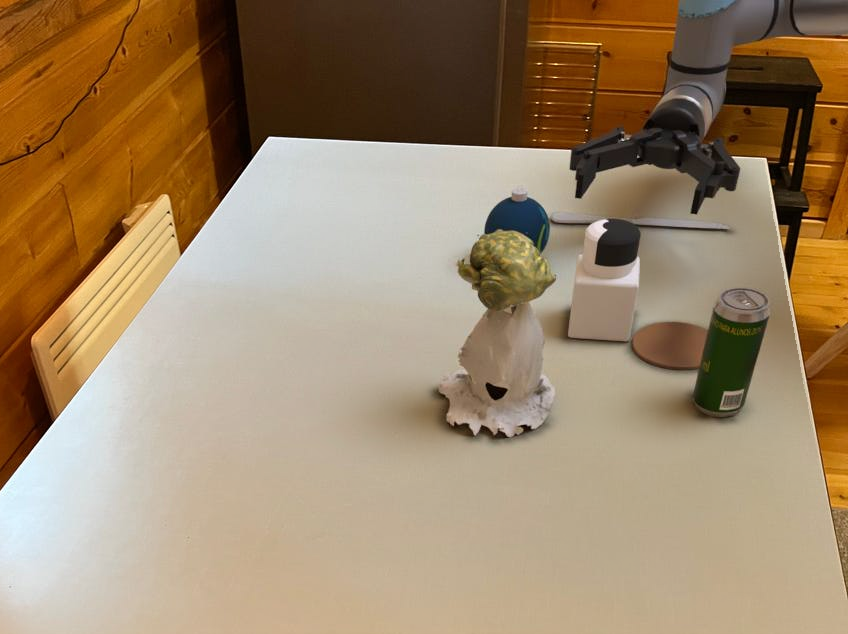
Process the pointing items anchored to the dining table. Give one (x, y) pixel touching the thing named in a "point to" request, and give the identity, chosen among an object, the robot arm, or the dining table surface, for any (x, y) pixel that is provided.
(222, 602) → the dining table surface
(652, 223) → the butter knife
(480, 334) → the white and green statuette
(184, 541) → the dining table surface
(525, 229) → the christmas ornament
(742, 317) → the green drink can
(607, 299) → the medicine bottle
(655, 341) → the coaster
